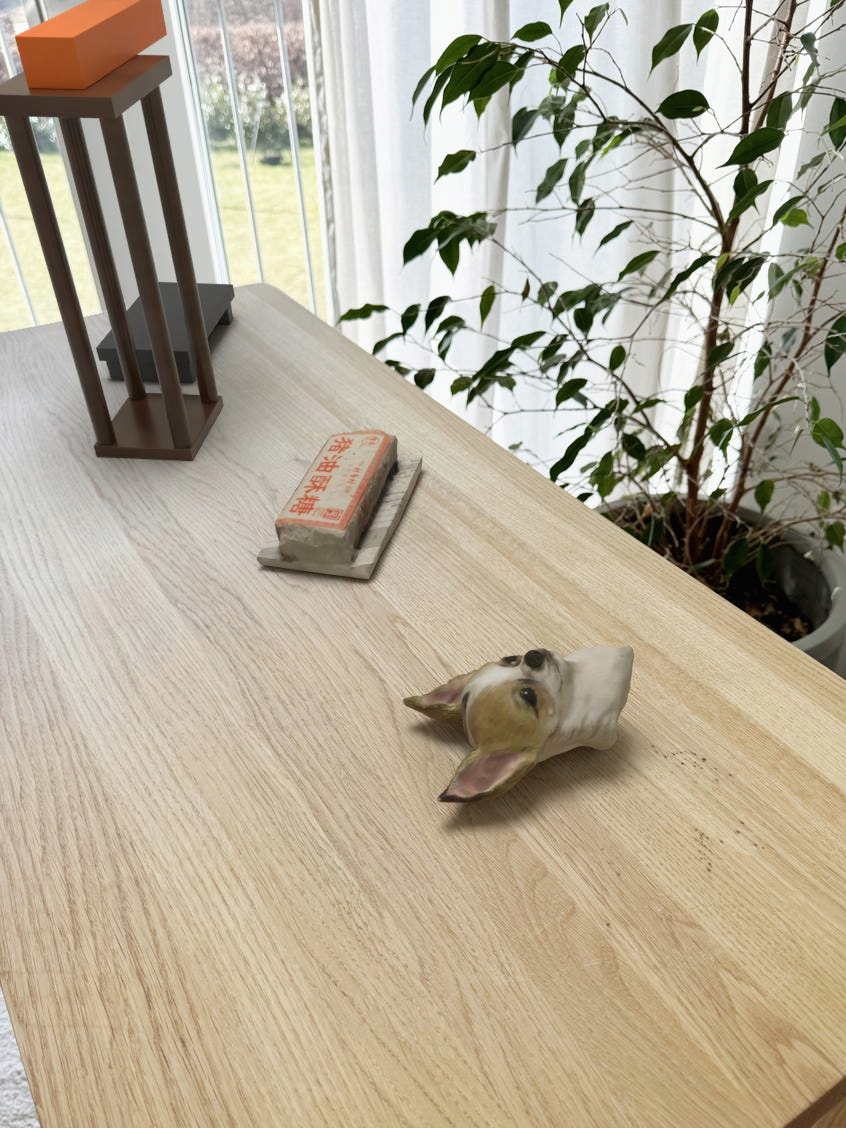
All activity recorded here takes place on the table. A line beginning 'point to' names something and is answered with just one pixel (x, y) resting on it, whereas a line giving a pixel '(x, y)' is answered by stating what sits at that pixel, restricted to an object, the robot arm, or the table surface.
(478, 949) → the table surface
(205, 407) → the tall stand
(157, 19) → the orange block
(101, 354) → the low shelf
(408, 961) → the table surface
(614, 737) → the ceramic sculpture
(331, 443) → the packaged product
